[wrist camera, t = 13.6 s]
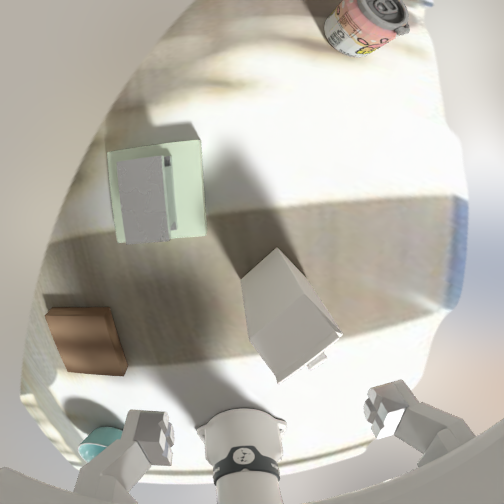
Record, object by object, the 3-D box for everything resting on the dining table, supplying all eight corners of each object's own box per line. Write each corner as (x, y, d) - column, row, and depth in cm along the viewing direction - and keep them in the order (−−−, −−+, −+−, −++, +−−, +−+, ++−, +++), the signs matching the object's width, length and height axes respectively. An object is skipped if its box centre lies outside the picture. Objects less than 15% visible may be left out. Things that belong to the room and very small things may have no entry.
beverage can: (355, 7, 30) (391, -26, 19) (386, 48, 32) (430, 25, 21) (310, 23, 31) (339, -16, 19) (343, 67, 33) (384, 41, 22)
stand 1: (128, 365, 45) (123, 376, 42) (73, 362, 44) (67, 371, 41) (109, 307, 41) (103, 316, 39) (52, 307, 40) (44, 315, 38)
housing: (171, 156, 33) (161, 155, 27) (178, 227, 36) (169, 240, 30) (133, 161, 32) (116, 161, 27) (140, 231, 35) (126, 244, 30)
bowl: (106, 452, 54) (100, 476, 46) (75, 415, 49) (64, 440, 41) (158, 454, 55) (155, 480, 47) (130, 416, 50) (122, 445, 42)
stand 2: (207, 230, 39) (206, 235, 36) (124, 237, 38) (117, 243, 35) (201, 141, 35) (199, 139, 33) (115, 152, 34) (107, 152, 32)
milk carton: (239, 279, 42) (252, 365, 24) (276, 246, 41) (316, 314, 23) (272, 309, 44) (300, 399, 26) (307, 279, 43) (358, 357, 25)
